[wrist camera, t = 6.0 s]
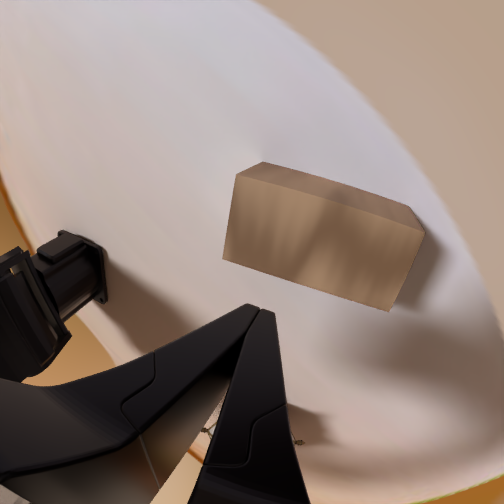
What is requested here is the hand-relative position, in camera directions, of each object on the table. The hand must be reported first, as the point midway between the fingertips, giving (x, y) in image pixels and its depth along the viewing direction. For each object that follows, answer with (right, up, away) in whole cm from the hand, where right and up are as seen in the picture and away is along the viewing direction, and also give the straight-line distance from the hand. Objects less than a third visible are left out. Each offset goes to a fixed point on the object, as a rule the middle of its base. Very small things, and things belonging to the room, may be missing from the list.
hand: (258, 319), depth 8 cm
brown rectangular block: (-1, +4, +8) cm, 9 cm away
